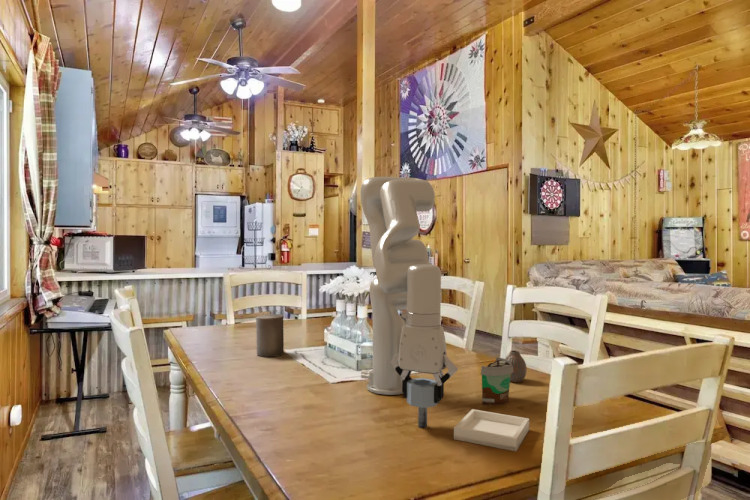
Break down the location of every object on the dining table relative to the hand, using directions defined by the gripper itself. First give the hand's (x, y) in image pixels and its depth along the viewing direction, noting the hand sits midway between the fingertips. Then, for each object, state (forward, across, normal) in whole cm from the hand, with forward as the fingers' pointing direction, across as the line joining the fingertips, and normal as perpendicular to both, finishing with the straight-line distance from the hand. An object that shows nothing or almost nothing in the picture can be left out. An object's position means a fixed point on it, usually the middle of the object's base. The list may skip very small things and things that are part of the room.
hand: (422, 398), depth 116 cm
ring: (+1, 0, 0) cm, 1 cm away
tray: (+6, +15, +3) cm, 17 cm away
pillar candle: (+7, -75, +39) cm, 85 cm away
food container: (+7, +11, +26) cm, 29 cm away
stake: (+6, 0, 0) cm, 6 cm away
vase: (+7, +10, +47) cm, 48 cm away
